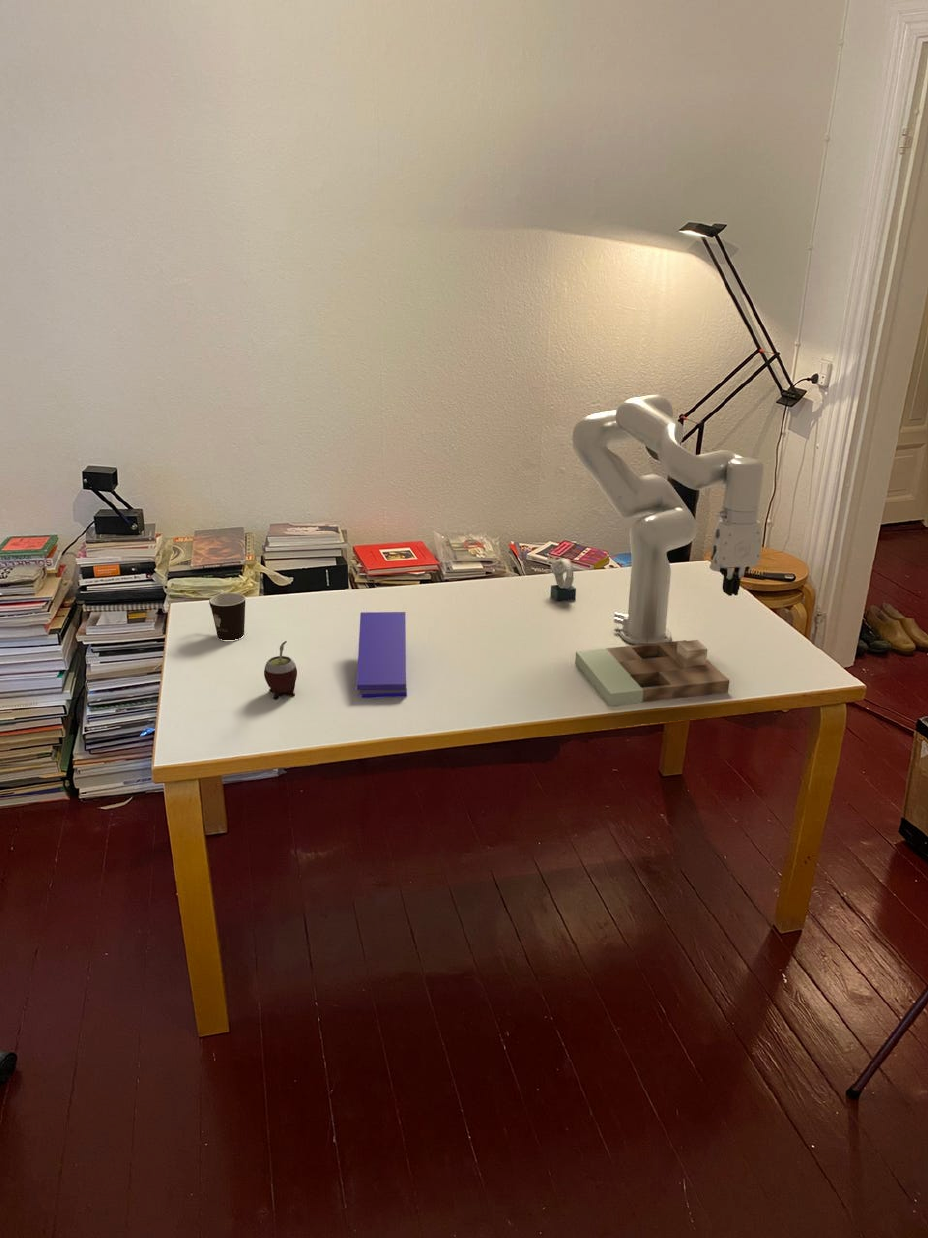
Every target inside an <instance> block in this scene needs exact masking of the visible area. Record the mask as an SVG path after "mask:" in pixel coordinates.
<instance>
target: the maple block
mask: <svg viewBox="0 0 928 1238" xmlns="http://www.w3.org/2000/svg"><path fill="white" fill-rule="evenodd" d="M681 641H682V642H678V644H677V654H676V658H677V659H678V660H679V661H680V662H681V663H682V664H683V665H684V666H685V667H689V666H698V665H706V659H708V658H707V656H708V648H707V647H706V645H704V644H703V643H702V642H701V641H700V640H699V639H694V640H693V639H692V640H686V641H683V640H681Z"/></svg>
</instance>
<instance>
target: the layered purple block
mask: <svg viewBox="0 0 928 1238" xmlns="http://www.w3.org/2000/svg"><path fill="white" fill-rule="evenodd" d="M406 619H407V618H406V611H386V612H385V611H383V612H382V611H380V612H378V611H377V612H376V611H375V612H374V611H373V612H369V611H366V612H365V611H363V612H360V617H359V620H360V621H359V632H358V633H359V636H358V652H357V654H358V655H357V672H356V691H358V692H359V691H360V693H361V698H362V699H367V698H369V699H370V698H398V697H399V698H400V697H408V694H407V693H408V688H407V687H408V686H407V650H406V648H407V645H406V644H407V642H406V641H407V640H406V637H407V635H406V634H407V632H406V631H407V630H406V621H407V620H406Z"/></svg>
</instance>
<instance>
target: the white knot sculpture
mask: <svg viewBox="0 0 928 1238" xmlns="http://www.w3.org/2000/svg"><path fill="white" fill-rule="evenodd" d="M550 569H552V574H553V576H554V580H555V583H556V584H554V585H552V584H551V585H550V597H551V598H552V599H553V600H554V601H555V602H556V603H557V602H559V603H560V602H567V601H573V600H574V601H575V600H576V597H577V588H576V587H574V586H573V583H574V568H573V564H572V561H571V560H570V559H569V558H564V557H563V558H559V559H556V560H555V561H554V562H553V563H551V565H550ZM564 574H566V575H565V577H564Z"/></svg>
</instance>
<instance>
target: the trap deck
mask: <svg viewBox="0 0 928 1238" xmlns="http://www.w3.org/2000/svg"><path fill="white" fill-rule="evenodd" d="M682 641H687V640H675V641H674V640H673V641H669V642H663V643H653V644H644V645H635V644H633V645H628V646H627V645H626V646H617V647H608V648H607V647H606V649H607V650H608V651H609V652H610V653H611V655H612V656H613V657H614V658H615V659H616V660H617V661H618V662H619V663H620V665H621V666H622V667H623V668H624V669H625V670H626V671H627V672H628V673H629V675H630V676H631V677H632V678H633V679H634V680H635V681H636V682H637V684H638V685H639V686H640V687H641V688H642V689H643V700H642V702H641V703H647V702H656V701H657V702H658V701H663V700H664V701H665V700H674V699H683V698H691V697H699V696H708V695H710V696H711V695H715V694H717V695H718V694H725V693H729V689H730V688H729V687H730V682H731V681H730V679H729V678H728V677H727V676H726V675H725V674H723V673H722V672H721V670H720V669H718V668H717V667H716V666H715V665H714V664H713V663H711V662H710V660H709V659H708V658H706V665H698V666H689V667H685V666H684V665H683V664H682V663H681V662H680V661H679V660H678V659H677V658H676V654H677V644H678V642H682Z"/></svg>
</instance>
